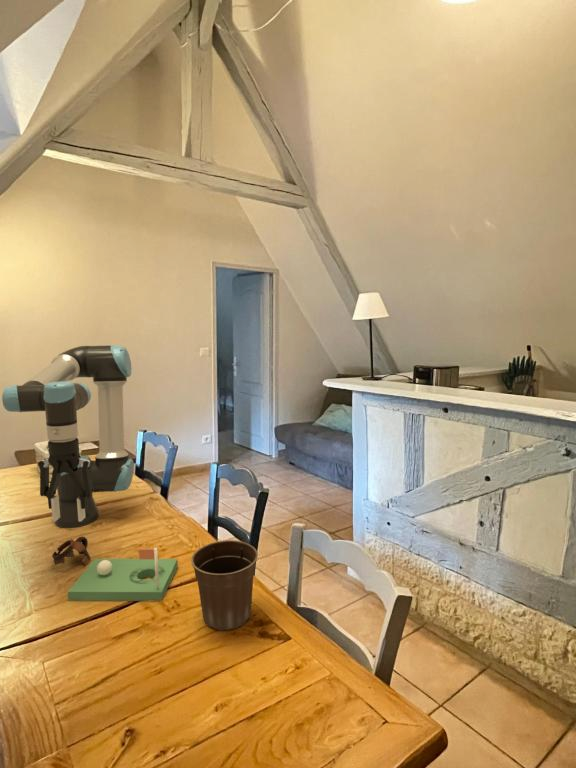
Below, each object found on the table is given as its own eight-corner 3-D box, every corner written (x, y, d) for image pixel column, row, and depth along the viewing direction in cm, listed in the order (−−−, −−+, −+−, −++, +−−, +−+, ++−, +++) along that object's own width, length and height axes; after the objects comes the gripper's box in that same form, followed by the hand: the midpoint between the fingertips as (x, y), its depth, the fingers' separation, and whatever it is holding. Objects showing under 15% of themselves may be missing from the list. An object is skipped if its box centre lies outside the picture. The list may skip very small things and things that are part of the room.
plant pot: (204, 646, 105) (202, 580, 103) (185, 607, 119) (183, 549, 117) (269, 624, 113) (268, 562, 110) (244, 590, 127) (243, 535, 125)
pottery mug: (84, 573, 137) (66, 553, 134) (60, 582, 139) (42, 563, 136) (101, 544, 148) (86, 525, 145) (79, 553, 150) (63, 535, 147)
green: (68, 600, 122) (67, 591, 122) (95, 566, 139) (94, 558, 139) (161, 600, 122) (161, 592, 122) (177, 566, 139) (177, 558, 139)
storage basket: (34, 471, 227) (32, 442, 224) (69, 464, 237) (67, 436, 235) (47, 484, 208) (44, 453, 206) (84, 476, 219) (82, 446, 217)
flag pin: (142, 596, 124) (139, 547, 122) (159, 596, 124) (157, 547, 122) (141, 598, 123) (138, 549, 121) (159, 598, 123) (156, 549, 121)
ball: (100, 570, 132) (100, 557, 132) (114, 570, 132) (113, 557, 132) (94, 578, 128) (94, 564, 128) (109, 578, 128) (108, 564, 128)
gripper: (19, 442, 121) (26, 525, 125) (92, 442, 121) (98, 525, 124) (35, 435, 129) (41, 513, 132) (104, 435, 129) (109, 513, 132)
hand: (69, 519), depth 128 cm, fingers open, 6 cm apart
